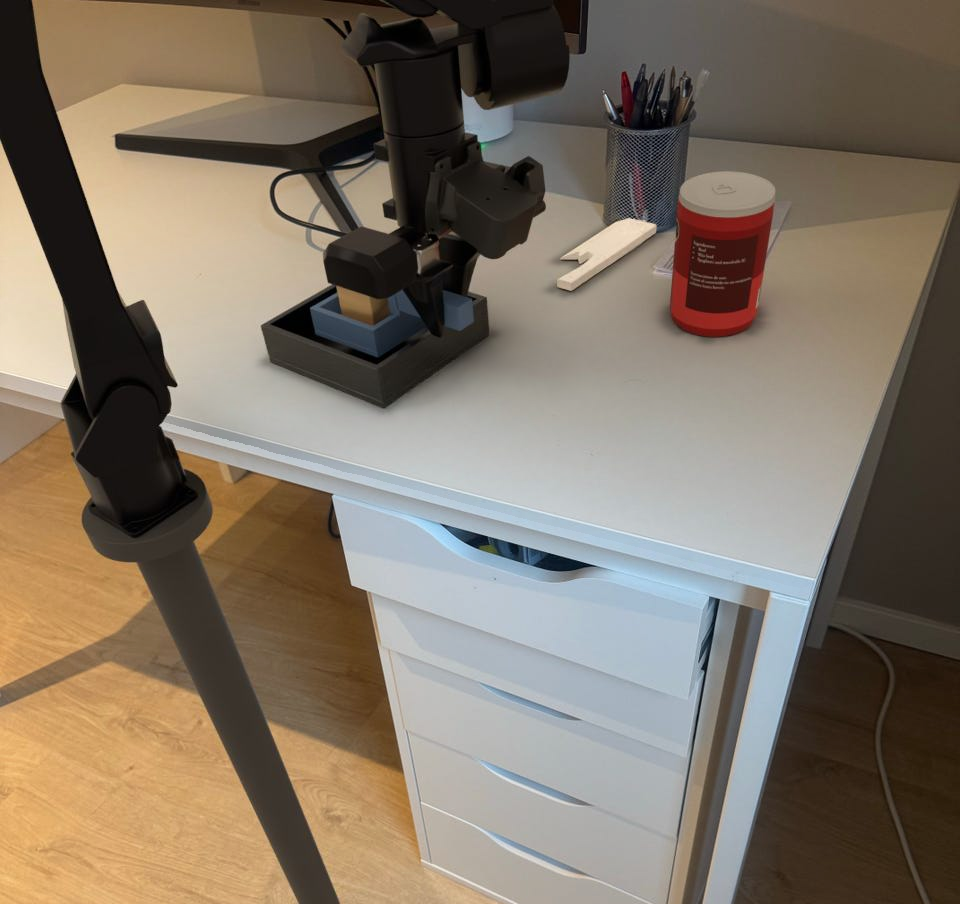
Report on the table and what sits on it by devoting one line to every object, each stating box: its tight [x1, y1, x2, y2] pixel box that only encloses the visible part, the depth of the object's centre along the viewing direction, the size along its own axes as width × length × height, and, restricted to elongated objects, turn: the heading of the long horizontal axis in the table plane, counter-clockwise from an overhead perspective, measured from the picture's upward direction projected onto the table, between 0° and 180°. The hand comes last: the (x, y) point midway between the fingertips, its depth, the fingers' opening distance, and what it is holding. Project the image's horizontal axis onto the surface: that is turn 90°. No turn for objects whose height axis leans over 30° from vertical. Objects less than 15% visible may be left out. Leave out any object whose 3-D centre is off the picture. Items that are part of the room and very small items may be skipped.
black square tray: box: [260, 284, 490, 409], centre depth 80 cm, size 14×14×4 cm
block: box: [336, 286, 392, 326], centre depth 78 cm, size 4×4×4 cm
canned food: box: [669, 171, 776, 338], centre depth 77 cm, size 8×8×11 cm
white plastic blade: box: [556, 217, 657, 292], centre depth 91 cm, size 5×15×1 cm, turn 140°
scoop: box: [310, 290, 474, 358], centre depth 77 cm, size 8×15×5 cm, turn 51°
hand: (446, 330), depth 75 cm, fingers closed on scoop, 2 cm apart
